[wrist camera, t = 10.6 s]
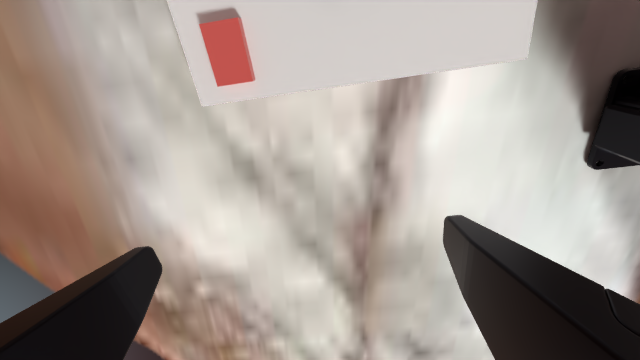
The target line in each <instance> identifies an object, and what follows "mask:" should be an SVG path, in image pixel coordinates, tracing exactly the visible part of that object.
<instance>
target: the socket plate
mask: <svg viewBox="0 0 640 360" xmlns="http://www.w3.org/2000/svg"><path fill="white" fill-rule="evenodd" d="M537 1H538V0H167V3H168V6H169V9H170V12H171V15H172V18H173V21H174V24H175V27H176V30H177V33H178V36H179V39H180V42H181V45H182V48H183V51H184V54H185V57H186V60H187V63H188V66H189V69H190V72H191V75H192V78H193V81H194V84H195V87H196V90H197V93H198V96H199V99H200V102H201V105H202V107H204V106H210V105H217V104H224V103H231V102H238V101H245V100H251V99H258V98H265V97H272V96H279V95H285V94H292V93H299V92H306V91H313V90H320V89H326V88H333V87H340V86H347V85H354V84H361V83H367V82H374V81H381V80H388V79H395V78H402V77H408V76H415V75H422V74H429V73H436V72H443V71H449V70H456V69H463V68H470V67H477V66H484V65H490V64H497V63H504V62H511V61H518V60H525V59H528V53H529V47H530V42H531V36H532V30H533V24H534V19H535V13H536V7H537Z"/></svg>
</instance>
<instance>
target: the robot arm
mask: <svg viewBox="0 0 640 360" xmlns="http://www.w3.org/2000/svg"><path fill="white" fill-rule="evenodd" d="M624 77H626V79H625V80H624V81H623V79H624ZM597 161H598V162H597ZM587 165H588V166H589V167H591V168H593V169H596V170H599V169H608V168H617V167H626V166H635V165H640V68H633V69H626V70H622V71H620V72H618V73H617V74H616V75H615V76H614V78H613V80H612V83H611V87H610V90H609V93H608V96H607V99H606V103H605V106H604V109H603V112H602V116H601V119H600V122H599V125H598V129H597V132H596V135H595V138H594V142H593V145H592V148H591V151H590V154H589V158H588V161H587ZM443 244H444V248H445V250H446V253H447V256H448V258H449V261H450V264H451V266H452V269H453V272H454V274H455V277H456V280H457V282H458V285H459V288H460V290H461V293H462V295H463V297H464V299H465V301H466V304H467V306H468V308H469V309H470V311H471V313H472V315H473V317H474V319H475V321H476V323H477V325H478V327H479V329H480V331H481V333H482V335H483V337H484V339H485V341H486V343H487V345H488V347H489V349H490V351H491V353H492V355H493V357H494V358H495V360H640V304H638V303H636V302H634V301H632V300H630V299H628V298H626V297H624V296H622V295H620V294H618V293H616V292H614V291H612V290H610V289H605V288H604V287H603V286H602V285H600V284H598V283H596V282H594V281H592V280H590V279H588V278H586V277H584V276H582V275H580V274H578V273H576V272H574V271H572V270H570V269H568V268H566V267H564V266H562V265H560V264H558V263H556V262H554V261H552V260H550V259H548V258H546V257H544V256H542V255H540V254H538V253H536V252H534V251H532V250H530V249H528V248H526V247H524V246H522V245H520V244H518V243H516V242H514V241H512V240H510V239H508V238H506V237H504V236H502V235H500V234H498V233H496V232H494V231H492V230H490V229H488V228H486V227H484V226H482V225H480V224H478V223H476V222H474V221H472V220H470V219H468V218H466V217H464V216H462V215H454V216H447V217H446V218H445V220H444V233H443ZM161 274H162V265H161V263H160V261H159V259H158V257H157V255H156V253H155V251H154V250H153V248H151V247H149V246H145V247H137V248H134V249H132V250H131V251H129V252H127V253H125V254H124V255H122V256H120V257H118V258H116V259H115V260H113V261H111V262H109V263H107V264H106V265H104V266H102V267H100V268H98V269H97V270H95V271H93V272H91V273H90V274H88V275H86V276H84V277H82V278H81V279H79V280H77V281H75V282H73V283H72V284H70V285H68V286H66V287H64V288H63V289H61V290H59V291H57V292H56V293H54V294H52V295H50V296H48V297H47V298H45V299H43V300H41V301H39V302H38V303H36V304H34V305H32V306H31V307H29V308H27V309H25V310H23V311H21V312H20V313H18V314H16V315H14V316H13V317H11V318H9V319H7V320H5V321H4V322H2V323H0V360H124V358H125V356H126V354H127V352H128V350H129V348H130V346H131V344H132V342H133V340H134V338H135V336H136V334H137V332H138V330H139V328H140V326H141V323H142V321H143V319H144V317H145V314H146V312H147V309H148V307H149V304H150V302H151V299H152V297H153V294H154V292H155V289H156V287H157V284H158V282H159V279H160V276H161Z"/></svg>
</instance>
